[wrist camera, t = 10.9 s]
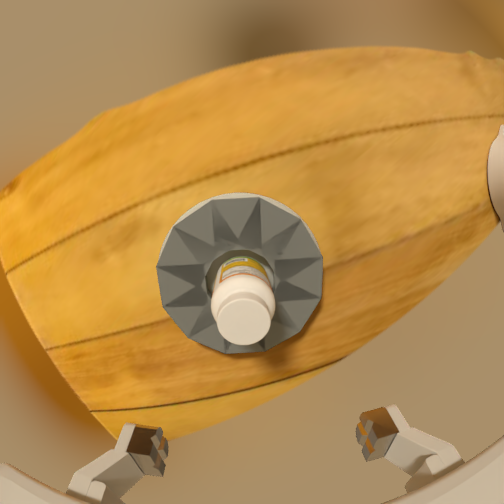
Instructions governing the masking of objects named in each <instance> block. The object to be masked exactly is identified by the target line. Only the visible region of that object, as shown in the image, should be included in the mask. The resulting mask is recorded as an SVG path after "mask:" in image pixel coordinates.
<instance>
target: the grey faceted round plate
mask: <svg viewBox="0 0 504 504" xmlns="http://www.w3.org/2000/svg"><path fill="white" fill-rule="evenodd" d="M236 256H248V257H251V258H253V259H255V260H257V261H258V262H259V263H260V264H261V265H262V266H263V267H264V269H265V271H266V273H267V276H268V279H269V282H270V285H271V288H272V291H273V294H274V298H275V312H274V315H273V318H272V319H271V325H270V328H269V331H268V333H267V334H266V335H265V337H263V338H262V339H261V340H260V341H258V342H256V343H254V344H250V345H237V344H233V343H231V342H229V341H227V340H226V339H225V338H224V337H223V336H222V335H221V334H220V332H219V330H218V327H217V322H216V321H215V319H214V317H213V315H212V311H211V299H212V294H213V290H214V285H215V280H216V275H217V272H218V270H219V268H220V267H221V265H222V264H223V263H224V262H225V261H227V260H228V259H230V258H232V257H236ZM156 268H157V275H158V283H159V288H160V294H161V300H162V305H163V308H164V309H165V310H166V312H167V313H168V314H169V315H170V317H171V318H172V319H173V320H174V322H175V323H176V324H177V325H178V326H179V328H180V329H181V330H182V331H183V332H184V334H185V335H186V336H187V337H188V338H189V339H192V340H194V341H196V342H198V343H201V344H203V345H205V346H208V347H210V348H213V349H215V350H217V351H220V352H222V353H225V354H229V353H248V352H263V351H267V350H269V349H270V348H272V347H274V346H276V345H278V344H279V343H281V342H283V341H285V340H286V339H288V338H290V337H292V336H293V335H295V334H297V333H298V332H300V331H301V329H302V328H303V326H304V325H305V323H306V321H307V320H308V318H309V317H310V315H311V314H312V312H313V311H314V309H315V307H316V306H317V304H318V303H319V301H320V299H321V294H322V277H323V257H322V255H321V253H320V249H319V246H318V243H317V241H316V239H315V237H314V235H313V233H312V232H311V230H310V229H309V227H308V226H307V224H306V223H305V222H304V221H303V220H302V219H301V218H300V216H298V215H297V214H296V213H295V212H294V211H292V210H291V209H290V208H288V207H287V206H285V205H284V204H282V203H280V202H278V201H276V200H273V199H271V198H269V197H265V196H262V195H258V194H252V193H229V194H223V195H219V196H215V197H212V198H210V199H207V200H205V201H202V202H201V203H199V204H197V205H195V206H194V207H192V208H191V209H189V210H188V211H187V212H186V213H184V214H183V215H182V216H181V217H180V218H179V219H178V220H177V221H176V223H175V224H174V225H173V227H172V228H171V229H170V231H169V232H168V234H167V236H166V238H165V240H164V242H163V245H162V248H161V251H160V255H159V260H158V263H157V266H156Z"/></svg>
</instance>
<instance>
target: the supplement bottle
mask: <svg viewBox="0 0 504 504" xmlns="http://www.w3.org/2000/svg"><path fill="white" fill-rule="evenodd" d="M211 311H212V315H213V317H214V319H215V321H216V322H217V327H218V330H219V332H220V334H221V335H222V336H223V337H224V338H225V339H226V340H227V341H229V342H231V343H233V344H237V345H250V344H254V343H256V342H258V341H260V340H261V339H262V338H263V337H265V335H266V334H267V333H268V331H269V328H270V325H271V319H272V318H273V315H274V312H275V298H274V294H273V291H272V288H271V285H270V282H269V279H268V276H267V273H266V271H265V269H264V267H263V266H262V265H261V264H260V263H259V262H258V261H257V260H255V259H253V258H251V257H248V256H236V257H232V258H230V259H228V260H227V261H225V262H224V263H223V264H222V265H221V267H220V268H219V270H218V272H217V275H216V280H215V285H214V290H213V294H212V299H211Z"/></svg>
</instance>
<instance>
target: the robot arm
mask: <svg viewBox="0 0 504 504" xmlns="http://www.w3.org/2000/svg"><path fill="white" fill-rule="evenodd" d="M488 184H489V191H490V196H491V200H492V203H493V206H494V208H495V210H496V212H497V214H498V216H499V217H500V220H501V225H502V229H503V232H504V125H501V126H500V130H499V135H498V136H497V138H496V139H495V140H494V141H493V143H492V145H491V148H490V152H489V157H488ZM360 421H361V422H360V423H359V424H357V428H356V437H357V440H358V443H359V444H361V445H362V446H363V449H362V453H363V455H364V457H365V460H366V462H367V461H371V460H375V459H378V458H381V457H384V458H385V459H387V460H388V461H390V462H391V463H393V464H394V465H396V466H397V467H399V468H400V469H402V470H403V471H405V472H406V473H408V474H409V475H411V476H412V478H411V479H410V480H409V481H408V482H407V483H406V485H405V488H406V491H407V494H405V495H402V496H400V497H397V498H395V499H392V500H390V501H387V502H384V503H382V504H504V435H503V436H502V437H501V438H499V439H498V440H497V441H496V442H494V443H493V444H492V445H490V446H489V447H488V448H486V449H485V450H483V451H482V452H481V453H479V454H478V455H476V456H475V457H473V458H472V459H470V460H469V461H467V462H466V463H465V462H464V461H463V459H462V458H461V456H460V455H459V453H458V452H457V450H456V449H455V447H454V446H453V445H452V444H450V443H448V442H445V441H443V440H441V439H438V438H436V437H434V436H431V435H429V434H427V433H425V432H422V431H420V430H418V429H416V428H414V427H413V428H410V427H409V425H408V424H407V422H406V420H405V419H404V417H403V416H402V414H401V413H400V411H399V409H398V408H397V406H396V405H395V404H392V405H389V406H386V407H381V408H378V409H374V410H371V411H367V412H363V413H362V414H361V415H360ZM162 435H163V431H162V429H161V427H153V426H146V425H139V424H133V423H126V424H125V425H124V426H123V429H122V431H121V434H120V436H119V439H118V441H117V444H116V447H115V449H114V450H113V449H111V450H109V451H108V452H106V453H105V454H103V455H102V456H100V457H99V458H97V459H96V460H94V461H92V462H91V463H89V464H88V465H86V466H85V467H83V468H81V469H80V470H78V471H76V472H75V473H74V476H73V478H72V480H71V482H70V485H69V487H68V490H67V492H66V494H65V493H63V492H61V491H59V490H56V489H54V488H52V487H50V486H48V485H46V484H44V483H42V482H40V481H38V480H36V479H35V478H32V477H31V476H29V475H27V474H26V473H24V472H22V471H21V470H19V469H17V468H16V467H14V466H12V465H11V464H8V463H3V464H0V504H125V503H124V502H123V501H122V500H121V499H120V498H121V497H122V496H123V495H124V494H125V493H126V492H127V491H128V490H129V489H130V488H132V486H134V485H135V484H136V483H137V482H138V481H139V480H140V479H141V478H142V477H143V476H144V474H145V475H152V476H160V477H163V474H164V470H165V466H166V465H165V463H164V461H163V460H164V459H166V458H167V456H168V442H167V440H166V438H165V437H163V436H162Z"/></svg>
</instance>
